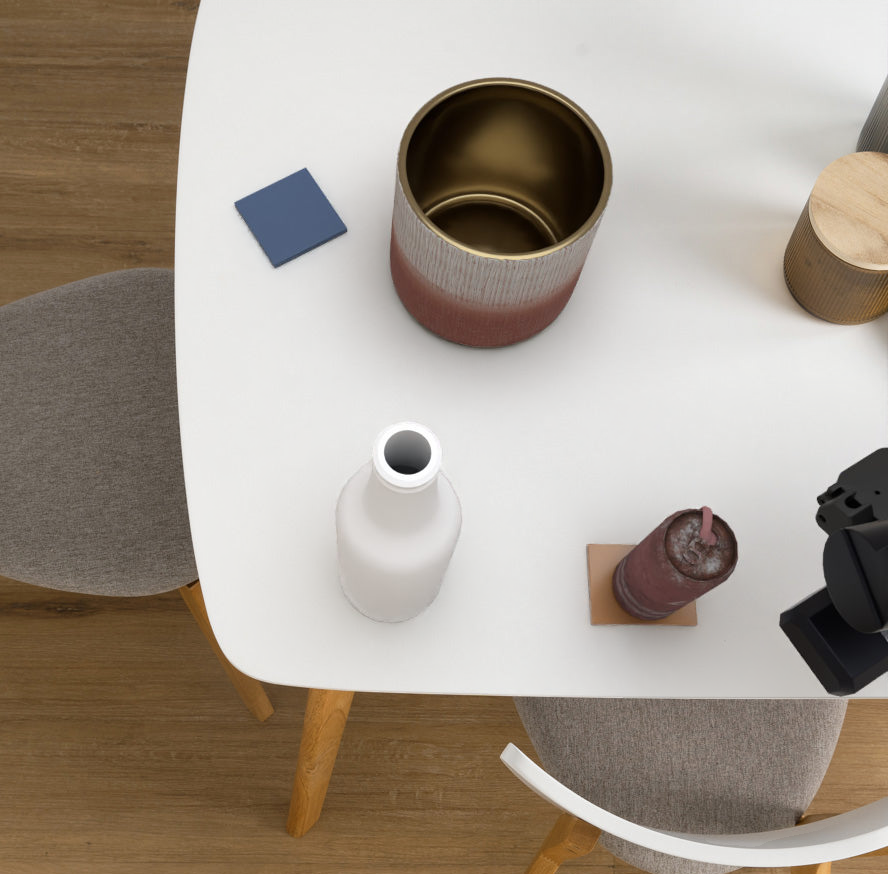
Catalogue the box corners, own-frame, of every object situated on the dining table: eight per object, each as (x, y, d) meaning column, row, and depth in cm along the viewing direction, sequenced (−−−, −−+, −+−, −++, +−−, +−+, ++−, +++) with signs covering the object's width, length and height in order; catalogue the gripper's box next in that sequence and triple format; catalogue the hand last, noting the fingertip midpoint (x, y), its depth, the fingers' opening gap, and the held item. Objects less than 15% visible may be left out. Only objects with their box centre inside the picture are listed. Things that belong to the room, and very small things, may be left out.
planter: (561, 185, 96) (599, 70, 80) (585, 348, 90) (631, 256, 75) (382, 193, 95) (387, 78, 80) (396, 358, 89) (403, 267, 74)
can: (681, 553, 84) (742, 505, 71) (680, 625, 82) (743, 590, 69) (612, 545, 84) (660, 496, 71) (609, 617, 82) (658, 581, 69)
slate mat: (306, 170, 95) (305, 166, 95) (347, 231, 93) (347, 228, 93) (234, 205, 94) (233, 202, 93) (275, 268, 92) (274, 265, 91)
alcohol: (334, 530, 84) (321, 389, 56) (433, 518, 85) (472, 373, 56) (346, 630, 82) (339, 536, 53) (448, 617, 82) (496, 517, 54)
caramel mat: (688, 546, 85) (690, 545, 84) (695, 626, 83) (697, 624, 82) (586, 545, 84) (587, 543, 84) (590, 625, 82) (592, 623, 82)
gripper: (1018, 368, 59) (885, 456, 74) (779, 518, 56) (690, 578, 70) (1147, 518, 56) (982, 578, 71) (904, 686, 53) (784, 711, 68)
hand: (858, 607), depth 70 cm, fingers open, 9 cm apart
